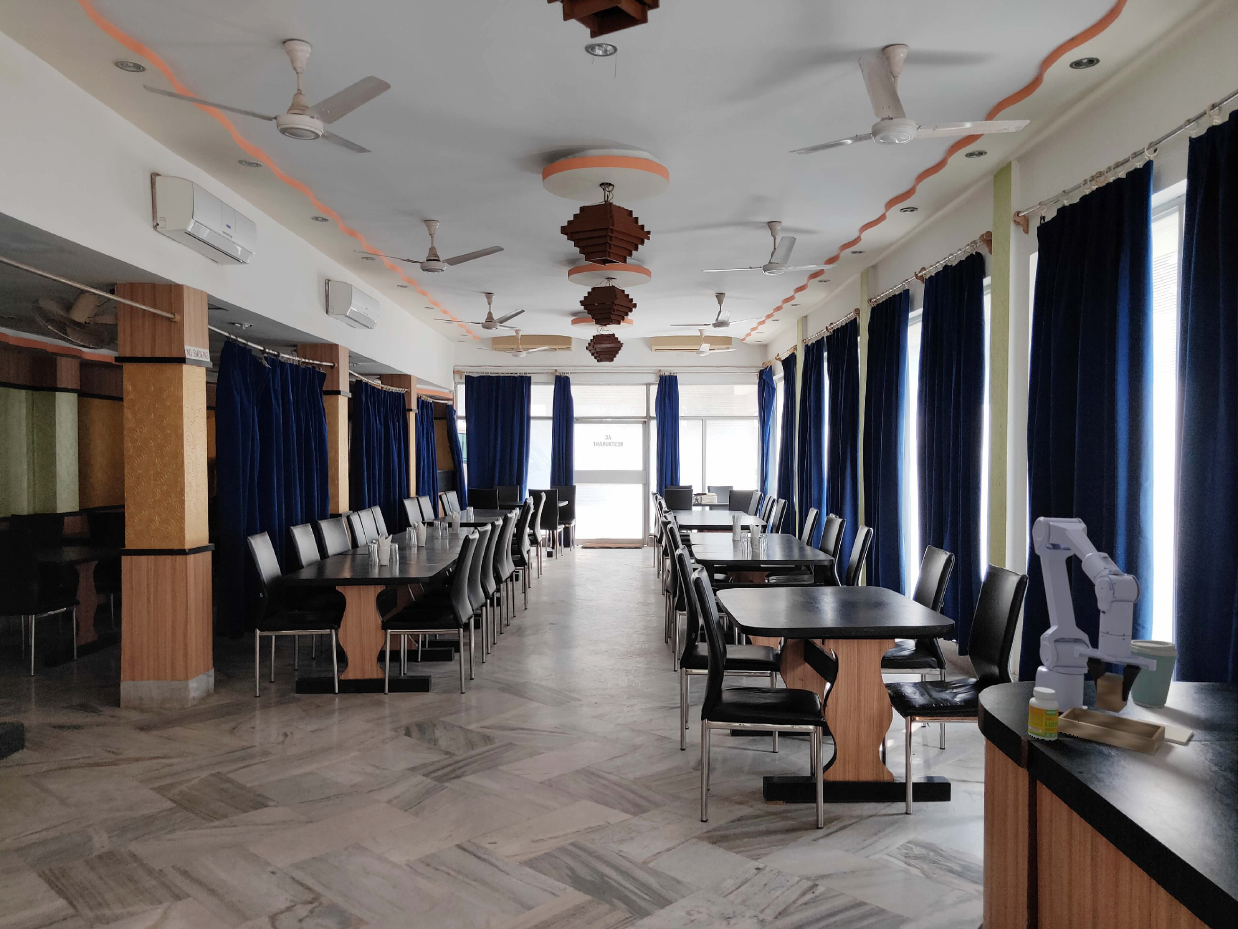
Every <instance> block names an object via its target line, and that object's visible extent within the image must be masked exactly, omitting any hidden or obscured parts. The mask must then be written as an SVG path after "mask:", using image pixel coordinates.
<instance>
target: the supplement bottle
mask: <svg viewBox="0 0 1238 929" xmlns="http://www.w3.org/2000/svg"><path fill="white" fill-rule="evenodd" d="M1032 694H1033V696H1034V697H1031V698H1030V700H1029V704H1028V723H1027V724H1028V726H1027V729H1028V730H1027V733H1028V735H1029V736H1030V735H1031V736H1030V737H1032V736H1033V737H1032V738H1034V737H1035V738H1034V739H1037V738H1039V739H1038V740H1041V739H1045V740H1044V741H1049V740H1051V741H1055V740H1057V739H1058V733H1059V732H1058V717H1059V705H1058V703H1057V702H1056V701H1054V699H1055V691H1054V690H1052V689H1049V688H1044V687H1033V692H1032Z"/></svg>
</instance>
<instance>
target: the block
mask: <svg viewBox="0 0 1238 929" xmlns="http://www.w3.org/2000/svg"><path fill="white" fill-rule="evenodd" d="M1122 693H1123V674H1118V673H1112V672H1105V673H1103V676H1101V677H1100V678H1099V679H1097V694H1096V702H1095V704H1096V705H1095V709H1098V710H1101V711H1102V710H1103V711H1107V712H1113V713H1116V714H1119V713H1121V711H1123V710H1124V708H1125V707H1126V706H1127V705H1128V700H1127V701H1126V702H1125V701H1122Z"/></svg>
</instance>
